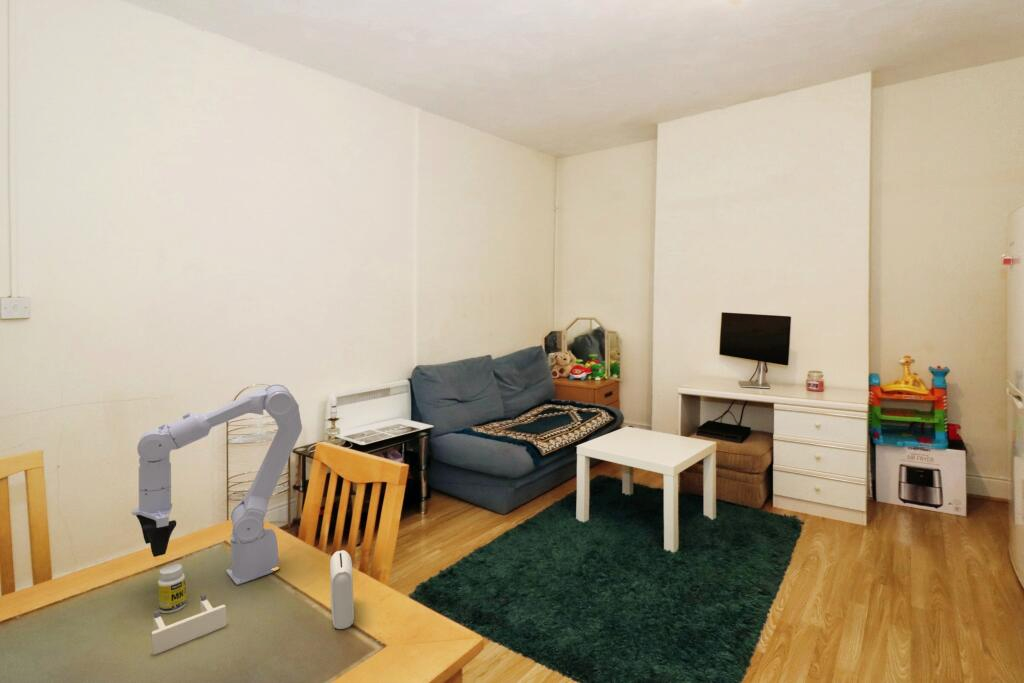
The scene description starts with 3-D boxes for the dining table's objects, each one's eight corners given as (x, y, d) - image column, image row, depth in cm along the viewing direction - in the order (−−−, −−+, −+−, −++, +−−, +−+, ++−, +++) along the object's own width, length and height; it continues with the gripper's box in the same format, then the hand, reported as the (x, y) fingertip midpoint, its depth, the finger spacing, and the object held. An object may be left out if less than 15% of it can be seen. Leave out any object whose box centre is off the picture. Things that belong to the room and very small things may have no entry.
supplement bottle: (173, 615, 107) (170, 575, 106) (153, 612, 108) (150, 573, 107) (192, 601, 112) (189, 563, 111) (173, 599, 113) (170, 561, 112)
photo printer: (330, 602, 111) (328, 546, 110) (352, 598, 113) (350, 543, 112) (332, 632, 102) (329, 571, 101) (355, 627, 103) (353, 567, 102)
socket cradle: (214, 608, 109) (213, 589, 109) (226, 625, 104) (225, 606, 103) (145, 634, 101) (143, 614, 101) (154, 655, 95) (152, 634, 95)
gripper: (125, 481, 115) (126, 541, 116) (139, 500, 104) (139, 567, 105) (164, 474, 120) (164, 532, 121) (180, 493, 109) (180, 556, 110)
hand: (155, 548), depth 113 cm, fingers open, 7 cm apart
